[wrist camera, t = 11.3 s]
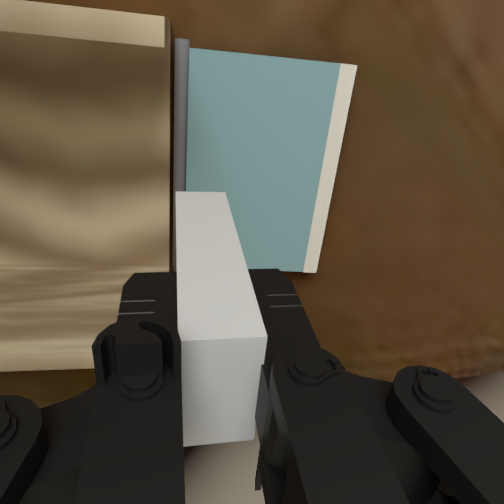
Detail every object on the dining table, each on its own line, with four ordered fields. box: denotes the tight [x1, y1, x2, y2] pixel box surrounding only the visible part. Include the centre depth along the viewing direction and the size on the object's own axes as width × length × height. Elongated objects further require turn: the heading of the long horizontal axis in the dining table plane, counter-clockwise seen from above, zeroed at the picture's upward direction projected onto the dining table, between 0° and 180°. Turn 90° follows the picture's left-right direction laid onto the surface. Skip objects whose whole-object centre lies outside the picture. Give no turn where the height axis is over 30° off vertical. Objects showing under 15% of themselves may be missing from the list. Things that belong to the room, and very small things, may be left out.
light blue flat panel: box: [173, 38, 357, 273], centre depth 33 cm, size 18×1×13 cm
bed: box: [0, 0, 171, 372], centre depth 26 cm, size 20×18×12 cm
